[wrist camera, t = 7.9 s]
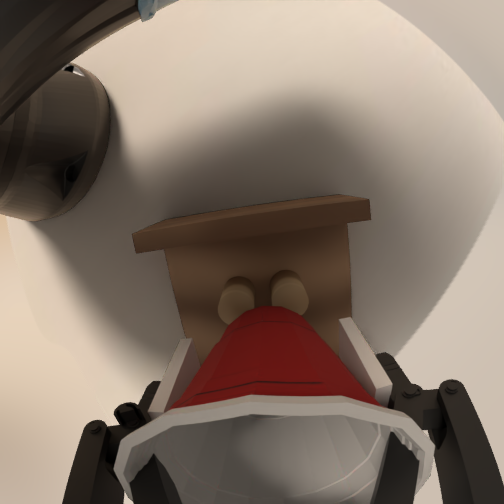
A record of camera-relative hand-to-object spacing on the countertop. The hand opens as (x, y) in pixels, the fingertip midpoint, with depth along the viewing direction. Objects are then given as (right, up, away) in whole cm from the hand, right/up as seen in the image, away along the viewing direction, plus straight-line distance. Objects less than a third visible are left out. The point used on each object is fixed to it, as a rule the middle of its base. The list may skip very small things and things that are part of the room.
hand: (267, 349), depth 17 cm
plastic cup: (0, 0, +1) cm, 1 cm away
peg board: (0, +2, +7) cm, 7 cm away
